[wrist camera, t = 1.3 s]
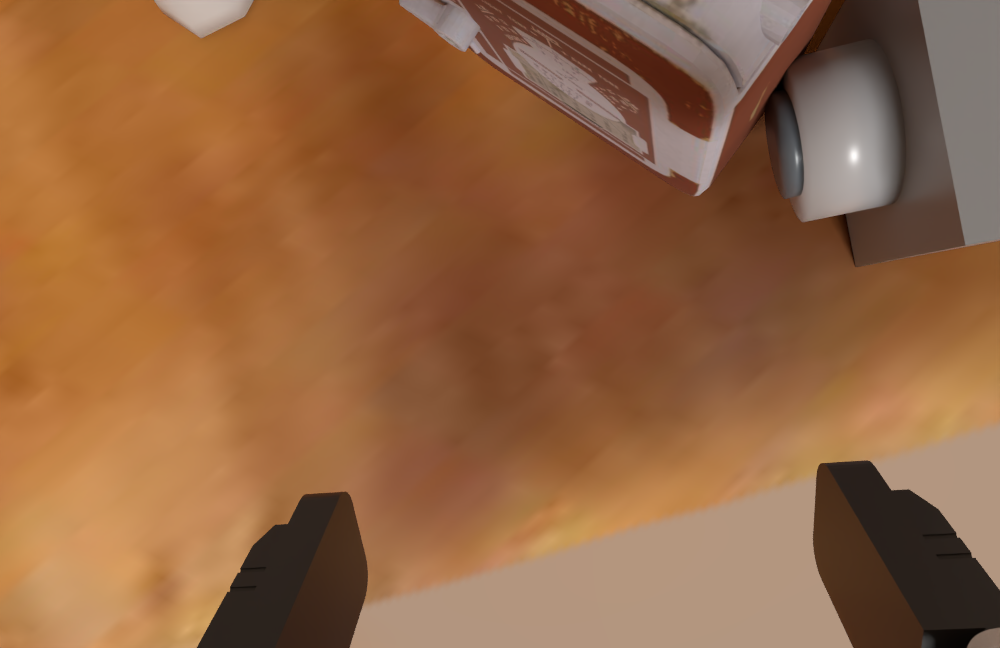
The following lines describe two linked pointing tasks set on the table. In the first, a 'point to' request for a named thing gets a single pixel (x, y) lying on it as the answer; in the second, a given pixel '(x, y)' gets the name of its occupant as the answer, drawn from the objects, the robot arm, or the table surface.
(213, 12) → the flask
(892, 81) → the camera housing
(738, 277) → the table surface
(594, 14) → the brown boxy piece
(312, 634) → the robot arm
